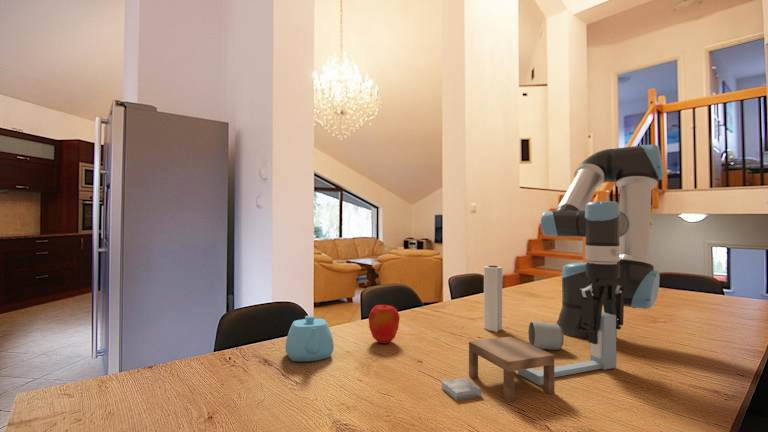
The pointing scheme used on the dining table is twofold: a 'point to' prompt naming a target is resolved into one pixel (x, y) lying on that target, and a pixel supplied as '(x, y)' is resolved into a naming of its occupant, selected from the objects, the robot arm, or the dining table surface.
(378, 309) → the apple
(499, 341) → the walnut table
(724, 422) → the dining table surface
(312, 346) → the teapot
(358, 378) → the dining table surface
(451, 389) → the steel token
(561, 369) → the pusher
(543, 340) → the ceramic mug
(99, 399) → the dining table surface
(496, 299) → the paper towel roll
